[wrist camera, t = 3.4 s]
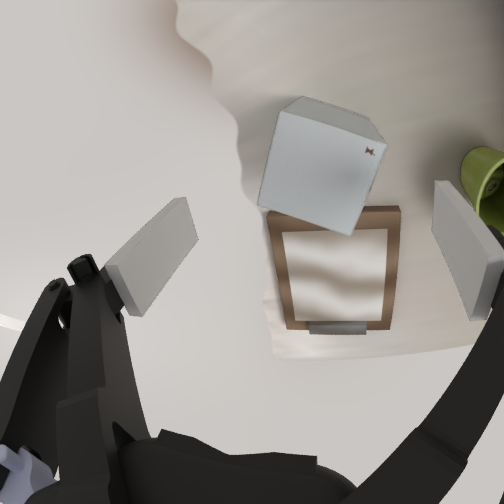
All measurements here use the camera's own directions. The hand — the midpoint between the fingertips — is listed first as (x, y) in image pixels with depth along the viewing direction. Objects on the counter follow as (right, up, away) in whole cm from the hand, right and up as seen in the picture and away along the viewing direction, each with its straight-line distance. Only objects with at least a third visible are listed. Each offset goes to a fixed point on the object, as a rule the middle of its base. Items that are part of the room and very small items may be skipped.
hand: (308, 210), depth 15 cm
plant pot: (+23, +7, +11) cm, 26 cm away
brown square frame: (+8, -5, +23) cm, 25 cm away
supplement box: (+5, +10, +14) cm, 18 cm away
